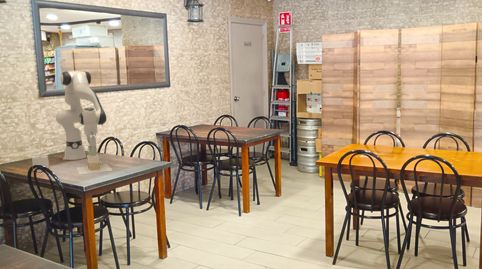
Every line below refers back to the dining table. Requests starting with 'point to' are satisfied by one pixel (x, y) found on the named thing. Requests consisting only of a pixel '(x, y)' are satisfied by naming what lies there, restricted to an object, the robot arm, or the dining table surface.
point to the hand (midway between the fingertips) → (92, 150)
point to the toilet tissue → (40, 161)
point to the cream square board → (85, 170)
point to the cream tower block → (93, 158)
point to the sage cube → (91, 150)
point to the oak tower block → (93, 166)
